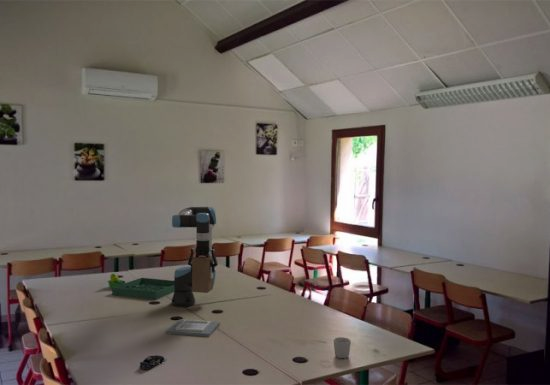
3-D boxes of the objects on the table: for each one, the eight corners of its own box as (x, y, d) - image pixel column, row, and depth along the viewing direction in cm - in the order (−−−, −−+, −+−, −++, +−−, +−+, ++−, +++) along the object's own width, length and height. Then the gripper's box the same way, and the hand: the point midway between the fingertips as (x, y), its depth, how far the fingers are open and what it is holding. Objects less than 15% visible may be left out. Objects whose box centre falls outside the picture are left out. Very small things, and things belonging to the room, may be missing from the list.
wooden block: (208, 293, 283) (208, 258, 282) (191, 292, 285) (191, 258, 284) (213, 289, 293) (213, 255, 292) (197, 288, 295) (197, 254, 294)
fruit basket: (126, 287, 360) (126, 272, 360) (116, 290, 353) (116, 274, 352) (115, 285, 366) (115, 270, 366) (105, 288, 359) (105, 272, 358)
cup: (330, 351, 240) (331, 335, 239) (346, 351, 240) (347, 335, 240) (335, 360, 229) (335, 343, 228) (352, 359, 229) (352, 342, 229)
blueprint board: (165, 333, 263) (165, 329, 263) (179, 322, 282) (179, 317, 282) (209, 336, 259) (209, 331, 259) (219, 324, 278) (219, 320, 278)
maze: (182, 289, 362) (182, 281, 362) (156, 300, 329) (156, 291, 328) (141, 285, 373) (141, 277, 373) (112, 295, 340) (112, 287, 340)
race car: (155, 358, 230) (155, 348, 230) (168, 360, 228) (168, 350, 228) (137, 370, 216) (136, 360, 216) (150, 372, 214) (150, 362, 214)
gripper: (181, 240, 285) (181, 278, 287) (219, 241, 282) (219, 279, 283) (186, 238, 293) (186, 275, 294) (223, 239, 289) (223, 277, 290)
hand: (202, 277), depth 288 cm, fingers closed on wooden block, 10 cm apart
